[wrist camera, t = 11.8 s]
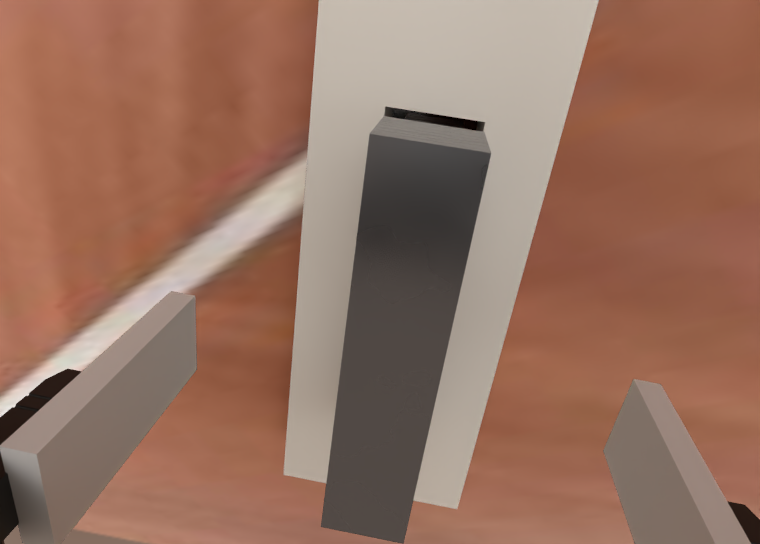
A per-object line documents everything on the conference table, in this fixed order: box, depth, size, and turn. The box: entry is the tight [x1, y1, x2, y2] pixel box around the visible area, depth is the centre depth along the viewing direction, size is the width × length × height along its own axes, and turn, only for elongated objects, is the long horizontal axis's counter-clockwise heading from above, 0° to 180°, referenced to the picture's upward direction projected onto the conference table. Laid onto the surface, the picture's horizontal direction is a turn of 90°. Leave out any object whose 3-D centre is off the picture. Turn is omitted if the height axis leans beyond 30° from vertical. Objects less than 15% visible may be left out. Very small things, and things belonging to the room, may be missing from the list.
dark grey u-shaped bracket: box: [321, 113, 491, 544], centre depth 20 cm, size 14×3×10 cm, turn 172°
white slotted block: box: [284, 0, 599, 509], centre depth 23 cm, size 24×9×4 cm, turn 172°
